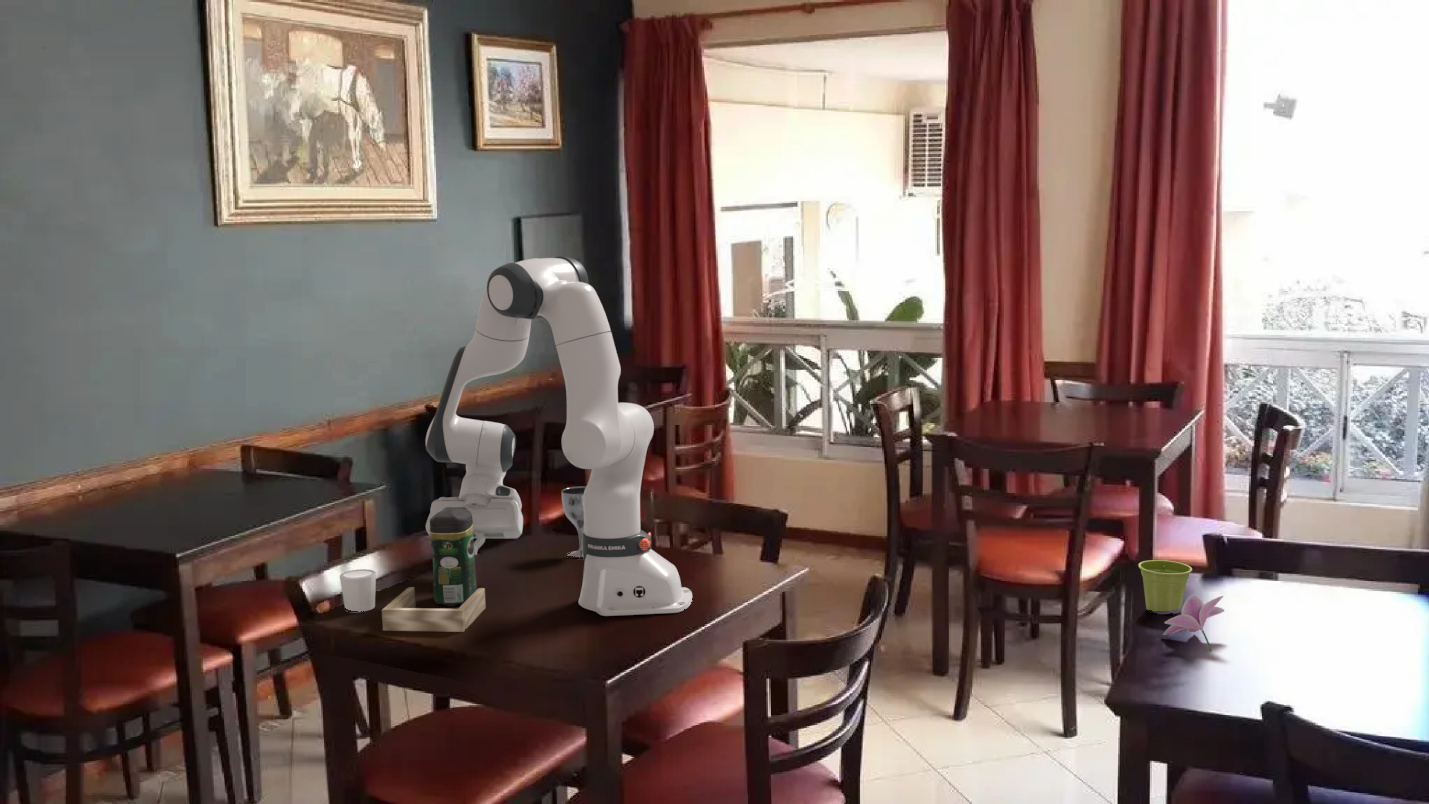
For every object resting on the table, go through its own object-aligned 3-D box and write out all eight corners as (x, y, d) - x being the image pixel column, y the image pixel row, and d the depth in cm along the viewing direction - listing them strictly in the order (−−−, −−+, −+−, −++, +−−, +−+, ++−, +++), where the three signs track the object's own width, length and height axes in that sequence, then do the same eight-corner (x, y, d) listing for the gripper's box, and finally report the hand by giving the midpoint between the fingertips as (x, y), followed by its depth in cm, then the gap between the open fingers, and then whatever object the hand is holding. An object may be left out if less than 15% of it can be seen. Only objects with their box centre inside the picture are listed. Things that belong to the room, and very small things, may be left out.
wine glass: (564, 551, 281) (561, 487, 279) (599, 549, 282) (596, 485, 279) (563, 560, 273) (561, 494, 271) (599, 558, 274) (597, 493, 272)
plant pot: (1145, 600, 237) (1146, 557, 235) (1196, 608, 231) (1197, 564, 230) (1130, 613, 229) (1132, 568, 228) (1182, 622, 224) (1184, 576, 222)
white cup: (383, 602, 245) (381, 568, 244) (370, 613, 238) (368, 578, 237) (350, 602, 246) (347, 568, 244) (336, 613, 239) (333, 578, 238)
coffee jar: (442, 592, 251) (438, 504, 248) (480, 592, 250) (476, 503, 248) (429, 607, 241) (424, 515, 239) (468, 607, 241) (464, 515, 238)
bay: (485, 607, 240) (484, 588, 239) (463, 631, 226) (462, 610, 226) (409, 606, 242) (408, 587, 241) (383, 630, 228) (381, 609, 227)
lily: (1235, 644, 215) (1213, 591, 218) (1249, 639, 204) (1227, 584, 206) (1167, 664, 216) (1147, 611, 219) (1178, 660, 205) (1157, 605, 208)
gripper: (429, 489, 261) (415, 546, 253) (522, 489, 259) (512, 546, 251) (437, 505, 266) (424, 561, 258) (529, 505, 264) (519, 561, 256)
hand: (468, 554), depth 254 cm, fingers closed
